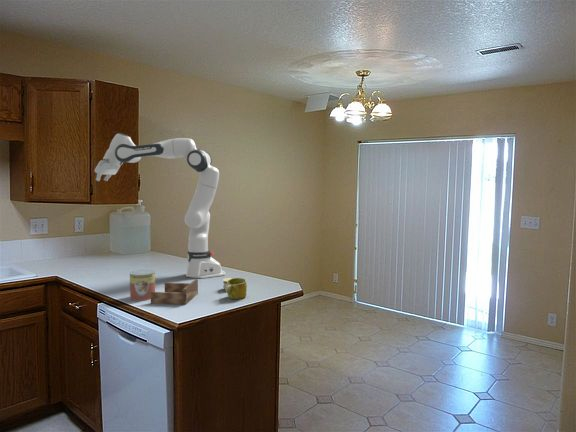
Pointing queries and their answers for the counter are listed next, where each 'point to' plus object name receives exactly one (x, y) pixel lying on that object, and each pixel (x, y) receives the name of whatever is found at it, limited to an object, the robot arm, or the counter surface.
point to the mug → (236, 288)
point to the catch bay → (176, 293)
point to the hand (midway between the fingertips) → (101, 180)
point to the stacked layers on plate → (225, 282)
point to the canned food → (142, 284)
